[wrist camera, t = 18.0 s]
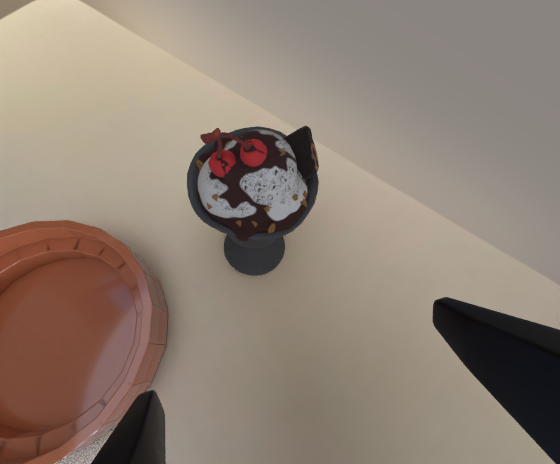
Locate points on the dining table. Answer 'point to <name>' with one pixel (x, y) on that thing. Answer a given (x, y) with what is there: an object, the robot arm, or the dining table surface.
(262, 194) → the sundae
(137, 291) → the bowl
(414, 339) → the dining table surface
